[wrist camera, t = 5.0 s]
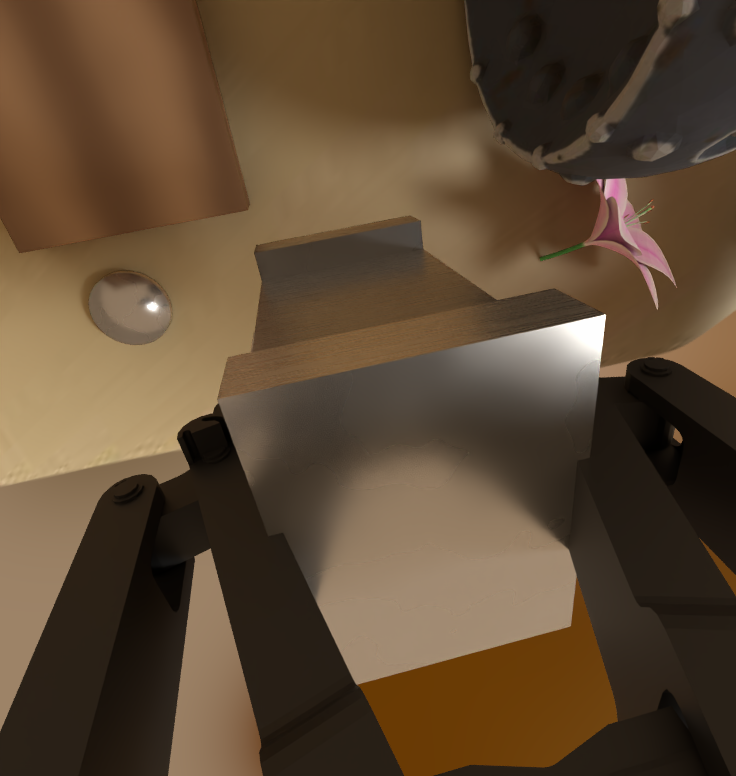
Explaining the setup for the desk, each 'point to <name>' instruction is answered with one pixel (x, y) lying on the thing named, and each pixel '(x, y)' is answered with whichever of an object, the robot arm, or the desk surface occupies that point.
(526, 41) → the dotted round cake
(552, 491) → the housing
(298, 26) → the desk surface
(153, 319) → the domed puck
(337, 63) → the desk surface
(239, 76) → the desk surface
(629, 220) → the lily
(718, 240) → the desk surface
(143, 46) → the walnut stand
